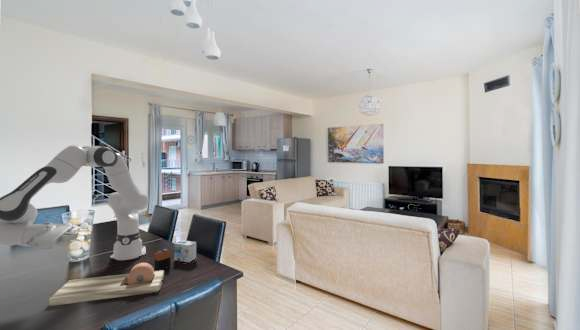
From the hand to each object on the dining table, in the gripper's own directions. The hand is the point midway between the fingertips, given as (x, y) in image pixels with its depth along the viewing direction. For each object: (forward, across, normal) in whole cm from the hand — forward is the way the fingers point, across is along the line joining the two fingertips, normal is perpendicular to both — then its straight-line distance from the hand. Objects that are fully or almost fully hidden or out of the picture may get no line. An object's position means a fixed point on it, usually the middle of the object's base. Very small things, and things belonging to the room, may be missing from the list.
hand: (76, 236), depth 119 cm
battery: (+37, +13, +21) cm, 44 cm away
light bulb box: (+48, +20, +20) cm, 56 cm away
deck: (+18, -5, +22) cm, 29 cm away
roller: (+28, -5, +15) cm, 33 cm away
